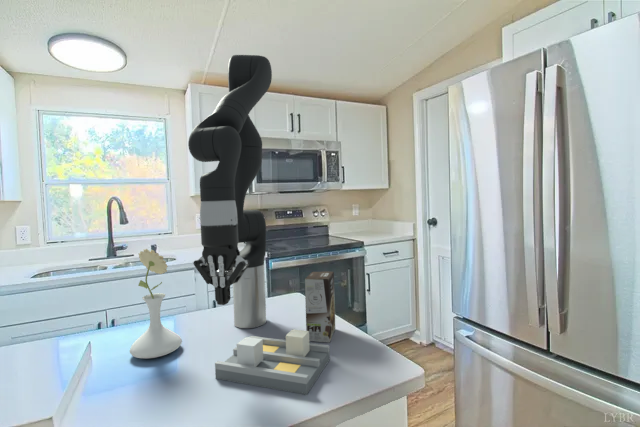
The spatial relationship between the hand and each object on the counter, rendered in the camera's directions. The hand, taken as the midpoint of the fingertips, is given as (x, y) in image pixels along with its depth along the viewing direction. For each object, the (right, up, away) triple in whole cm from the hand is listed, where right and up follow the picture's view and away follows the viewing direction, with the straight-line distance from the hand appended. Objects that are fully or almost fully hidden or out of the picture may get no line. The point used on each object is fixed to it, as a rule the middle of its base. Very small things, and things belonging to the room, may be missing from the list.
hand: (223, 303), depth 71 cm
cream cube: (+16, -11, +2) cm, 19 cm away
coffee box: (+21, -13, +17) cm, 30 cm away
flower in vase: (-20, -15, +10) cm, 26 cm away
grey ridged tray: (+11, -14, 0) cm, 18 cm away
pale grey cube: (+6, -12, -2) cm, 13 cm away
